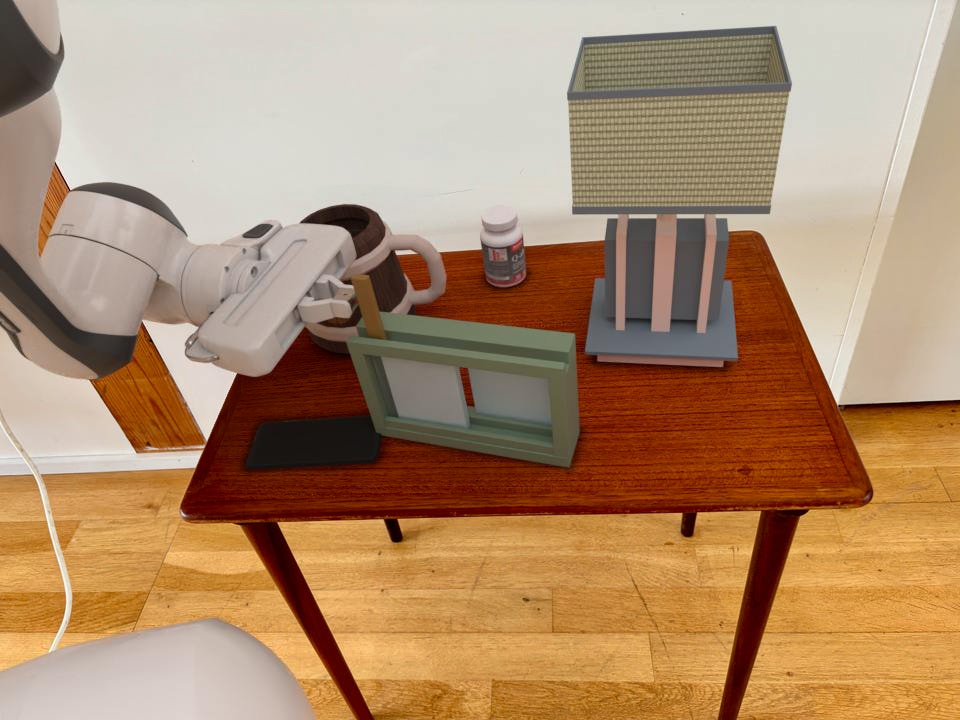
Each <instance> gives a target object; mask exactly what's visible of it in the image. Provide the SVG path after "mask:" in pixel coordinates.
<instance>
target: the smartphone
mask: <svg viewBox="0 0 960 720" xmlns="http://www.w3.org/2000/svg"><path fill="white" fill-rule="evenodd" d="M382 439H383V436H382V434H381V433H377V432H376V430H375V427H374V424H373V421H372V418H371V415H361V416H360V415H358V416H357V415H356V416H346V417H345V416H344V417H341V416H340V417H327V418H313V419H312V418H311V419H297V420H283V421H281V420H280V421H267V422H261V424H260V425H259V426H258V428H257V431H256V434H255V437H254V440H253V443H252V445H251V447H250V450H249V453H248V457H247V459H246V461H245V468H246V469H247V470H248V471H257V470H258V471H259V470H261V471H262V470H276V469H277V470H278V469H279V470H281V469H297V468H313V467H332V466H345V465H346V466H350V465H365V464H368V465H369V464H374V463H376V462H377V461H378V459H379V456H380V450H381V444H382Z"/></svg>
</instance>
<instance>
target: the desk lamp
mask: <svg viewBox="0 0 960 720" xmlns="http://www.w3.org/2000/svg"><path fill="white" fill-rule="evenodd" d="M571 73H572V74H571V77H570V80H569V84H568V87H567V91H566V100H567V104H568V127H569V150H570V173H571V174H570V175H571V176H570V177H571V197H572V198H571V199H572V200H571V201H572V205H571V212H572V213H571V214H572V215H575V216H576V215H578V216H579V215H582V216H583V215H585V216H586V215H587V216H588V215H617V217H616V218H615V217H613V218H612V217H610V218H609V217H608V218H607V219H606V227H605V235H604V277H603V278H601V277H600V278H598V277H595V278H594V285H593V292H592V299H591V306H590V313H589V321H588V327H587V335H586V340H585V348H584V355H586V356H597V357H596V361H597V362H603V363H604V362H605V363H627V364H646V365H647V364H648V365H666V366H667V365H670V366H689V367H690V366H691V367H692V366H693V367H711V368H713V367H714V368H715V367H716V368H723V367H724V362H727V361H728V362H738V360H739V354H738V340H737V330H736V318H735V317H736V316H735V306H734V305H735V303H734V295H733V283H732V282H733V281H732V280H725V275H726V268H727V261H728V260H727V258H728V252H729V244H730V235H729V226H728V225H729V224H728V218H727V217H724V218H723V217H716V215H770V214H771V210H772V198H773V193H774V186H775V180H776V175H777V168H778V163H779V157H780V152H781V145H782V139H783V134H784V128H785V123H786V115H787V109H788V104H789V98H790V92H792V86H793V81H792V78H791V74H790V70H789V67H788V63H787V60H786V56H785V52H784V48H783V45H782V41H781V38H780V34H779V31H778V27H777V25H766V26H765V25H764V26H747V27H732V28H716V29H715V28H714V29H698V30H684V31H683V30H681V31H665V32H664V31H663V32H648V33H633V34H631V33H629V34H614V35H613V34H611V35H598V36H582V37H581V40H580V45H579V48H578V51H577V55H576V58H575V62H574V66H573V70H572V72H571ZM630 215H656V217H647V218H645V217H643V218H642V217H637V218H635V217H634V218H633V217H632V218H631V217H630ZM677 215H703V218H702V217H700V218H699V217H690V218H689V217H685V218H684V217H678V218H677Z"/></svg>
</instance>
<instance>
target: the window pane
mask: <svg viewBox="0 0 960 720" xmlns="http://www.w3.org/2000/svg"><path fill="white" fill-rule="evenodd" d="M351 281H352V284H353V287H354V291H355V294H356V297H357V300H358V304H359V307H360V310H361V314H362V317H363V320H364V323H365V327H366V330H367V333H368V337H369V338H372V339H380V340H387V337H386V334H385V330H384V327H383V323H382V319H381V316H380V312H379V309H378V305H377V302H376V298H375V295H374V291H373V288H372V284H371V280H370V277H369V275H360V274H354V275H353V276H352V278H351ZM371 356H372V359H373V362H374V366H375V369H376V372H377V375H378V379H379V382H380V385H381V388H382V392H383V395H384V398H385V401H386V405H387V408H388V411H389V414H390V417H397V418H403V419H409V420H415V421H421V422H427V423H433V424H440V425H446V426H452V427H458V428H464V429H469V428H470V426H471V425H470V420H469V415H468V410H467V406H468V405H467V401H466V396H465V390H464V386H463V381H462V375H461V371H460V367H456V366H448V365H441V364H433V363H426V362H418V361H411V360H404V359H396V358H389V357H381V356H374V355H371Z"/></svg>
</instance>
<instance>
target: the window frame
mask: <svg viewBox="0 0 960 720" xmlns="http://www.w3.org/2000/svg"><path fill="white" fill-rule="evenodd" d="M380 316H381V319H382V323H383V327H384V330H385V334H386V337H387V340H380V339H372V338H369V337H368V333H367V330H366V327H365V323H364V320H363V317H362V318H361V319H360V321H359V322H358V324H357V325H356V329H357V332H358V335H359V337H357V336H349V337H348V339H347V340H346V343H347V346H348V349H349V352H350V354H349V355H350V358H351V361H352V364H353V367H354V370H355V372H356V375H357V379H358V381H359V384H360V388H361V391H362V394H363V397H364V400H365V402H366V405H367V409H368V411H369V416H371V418H372V421H373V424H374V427H375V430H376V432H377V433H381V434H382V437H388V438H394V439H399V440H405V441H412V442H418V443H424V444H429V445H434V446H440V447H446V448H452V449H457V450H464V451H469V452H475V453H481V454H487V455H493V456H499V457H504V458H511V459H515V460H522V461H526V462H533V463H540V464H546V465H551V466H555V467H556V466H557V467H562V468H568V469H569V468H570V467H571V463H572V460H573V457H574V454H575V450H576V447H577V443H578V439H579V436H580V429H581V428H580V408H579V393H578V392H579V390H578V389H579V387H578V366H577V346H576V333H574V332H566V331H565V332H564V331H557V330H547V329H538V328H530V327H520V326H519V327H518V326H512V325H503V324H494V323H485V322H478V321H477V322H476V321H468V320H457V319H448V318H442V317H441V318H440V317H432V316H431V317H430V316H424V315H423V316H421V315H406V314H397V313H388V312H380ZM371 355H374V356H381V357H389V358H396V359H404V360H411V361H418V362H426V363H433V364H441V365H448V366H456V367H459V368H464V369H467V372H468V376H469V377H468V378H469V382H470V387H471V392H472V398H473V402H474V406H470V405H467V410H468V415H469V420H470V425H471V426H470V428H469V429H464V428H458V427H452V426H446V425H440V424H433V423H427V422H421V421H415V420H409V419H403V418H397V417H390V414H389V411H388V408H387V405H386V401H385V398H384V395H383V392H382V388H381V385H380V382H379V379H378V375H377V372H376V369H375V366H374V362H373V359H372V356H371Z"/></svg>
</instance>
